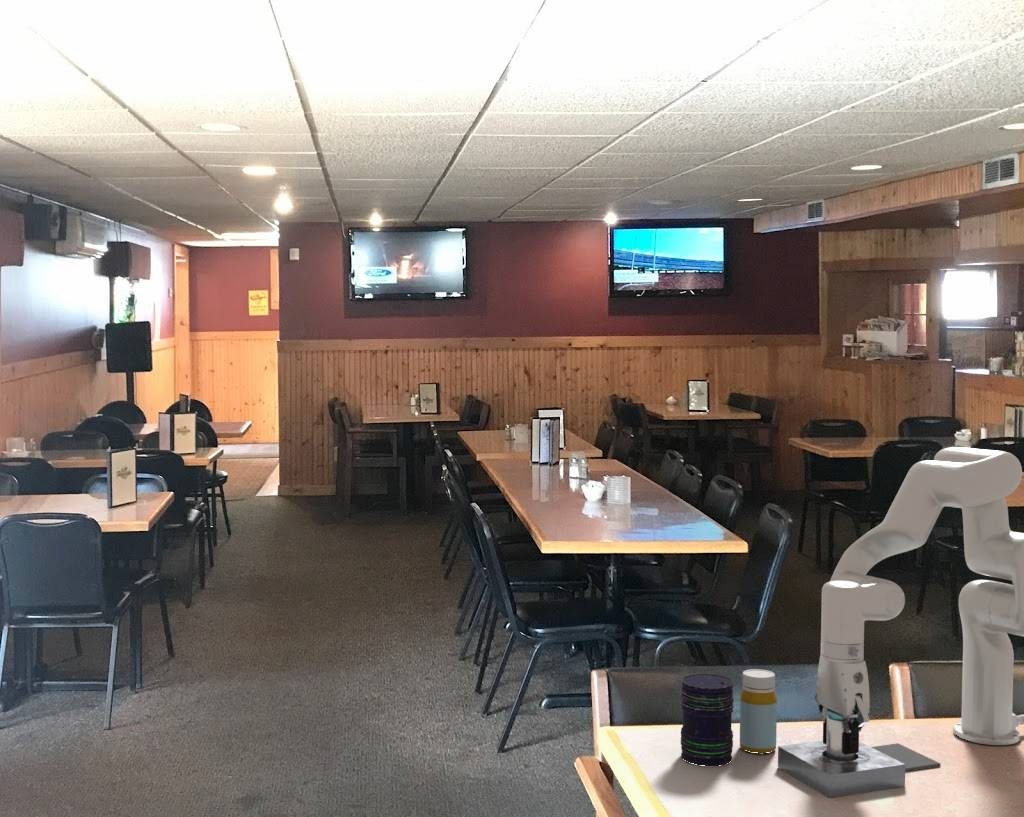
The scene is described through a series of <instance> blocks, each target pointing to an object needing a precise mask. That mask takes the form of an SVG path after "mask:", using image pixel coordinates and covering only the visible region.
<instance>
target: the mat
mask: <svg viewBox="0 0 1024 817" xmlns="http://www.w3.org/2000/svg"><path fill="white" fill-rule="evenodd" d="M870 747H871V748H873V749H875V750H877V751H880V752H882V753H884V754H886V755H888V756H890V757H892V758H894V759H896V760H898V761H900V762H902V763H904V764H905V771H907V772H911V771H910V770H913V771H916V770H915V769H920V770H926V769H925V768H927V769H930V768H929V767H934V768H939V766H940V767H941V763H940V762H938V761H936V760H934V759H932V758H930V757H928V756H926V755H924V754H921V753H920V752H917V751H915V750H914V749H911V748H909V747H907V746H904V745H902V744H900V743H899V742H898V743H891V744H890V743H889V744H884V745H883V744H882V745H877V746H870ZM937 766H938V767H937ZM922 768H923V769H922Z"/></svg>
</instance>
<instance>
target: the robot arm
mask: <svg viewBox="0 0 1024 817" xmlns="http://www.w3.org/2000/svg"><path fill="white" fill-rule="evenodd" d="M1022 478H1023V468H1022V465H1021V462H1020V460H1019V458H1017V457H1016V456H1015V455H1014V454H1013V453H1011V452H1007V451H1004V450H998V449H997V450H994V449H984V448H982V449H981V448H975V447H974V448H973V447H960V446H959V447H958V446H957V447H956V446H955V447H951V446H950V447H946V448H945V447H944V448H942V449H940V450H939V451H938V452H937V453H935V455H934V457H933V460H932V459H931V460H930V459H928V460H921V461H918V462H916V463H914V464H913V465H912V466H911V467H910V469H909V470H908V472H907V474H906V476H905V478H904V480H903V482H902V483H901V486H900V487H899V489H898V492H897V493H896V495H895V497H894V499H893V501H892V502H891V505H890V507H889V509H888V511H887V513H886V515H885V517H884V519H883V520H882V522H880V524H878V525H877V526H875V527H873V528H872V529H870V530H869V531H867V532H866V533H864V534H863V535H862V536H861V537H859V538H858V539H857V540H856V541H854V542H853V543H851V545H850V546H849V547H848V548H847V549H846V550H845V551H844V552H843V554H842V555H841V557H840V559H839V561H838V562H837V565H836V567H835V569H834V571H833V574H832V575H831V578H830V580H829V581H827V582H825V583H824V584H823V586H822V587H821V612H820V614H821V618H820V623H821V624H820V625H821V626H820V656H819V662H818V666H817V668H818V669H817V679H816V694H815V695H814V700H815V702H816V704H817V706H818V709H819V711H820V712H819V713H820V714H821V716H820V718H821V719H820V720H821V722H822V740H823V743H824V744H826V740H827V710H828V709H830V710H832V711H834V712H836V713H838V714H841V715H843V722H844V728H845V732H843V733H842V753H843V754H845V755H847V754H854V753H858V752H859V742H860V733H861V732H862V729H863V727H865V725H866V724H867V723H869V722H870V717H869V712H870V685H869V684H870V682H869V675H868V674H869V673H868V666H867V663H866V660H864V658H865V657H864V651H865V650H864V647H865V644H864V643H865V642H864V641H865V621H883V622H885V621H889V620H890V621H891V620H892V619H894V618H896V617H897V616H899V615H900V613H901V612H902V611H903V610H904V607H905V604H906V597H905V593H904V591H903V589H902V588H901V587H900V586H899V585H898V583H895V582H894V581H891V580H889V579H885V578H880V577H875V576H871V575H867V574H868V572H869V571H870V570H871V569H872V568H873V567H874V566H875V565H876V564H878V563H880V562H881V561H883V560H885V559H886V558H890V557H892V556H895V555H898V554H902V553H907V552H909V551H913V550H914V549H915V550H916V549H918V548H920V547H922V546H923V545H925V544H926V542H927V540H928V538H929V536H930V535H931V532H932V530H933V528H934V526H935V524H936V522H937V520H938V517H939V516H940V514H941V512H942V510H943V509H944V507H949V508H950V507H951V508H957V509H958V508H959V509H961V513H962V525H963V530H962V531H963V544H964V545H963V546H964V547H963V550H964V558H965V563H966V566H967V568H968V569H969V570H970V571H972V572H974V573H976V574H979V575H983V576H986V577H987V576H988V577H992V578H998V579H1003V580H1008V581H1012V584H1010V583H1005V582H1000V581H995V580H989V579H975V580H972V581H969V582H967V583H966V584H965V585H964V586H963V587H962V588H961V591H960V593H959V596H958V611H959V612H958V613H959V615H960V621H961V628H962V680H961V681H962V682H961V719H960V720H961V721H960V722H957V723H955V724H954V725H953V726H952V732H953V734H954V735H955V736H956V735H957V736H956V737H958V736H959V737H958V738H960V739H963V740H964V739H965V740H964V741H967V740H968V742H970V743H975V744H981V745H988V746H1011V745H1014V744H1017V743H1018V742H1020V741H1021V733H1020V732H1019V730H1017V728H1018V727H1019V725H1024V714H1018V715H1017V714H1015V713H1014V712H1013V700H1014V699H1013V697H1014V696H1013V694H1014V693H1013V692H1014V662H1015V657H1014V656H1015V654H1014V653H1015V652H1014V649H1013V648H1014V647H1013V644H1012V642H1011V641H1012V640H1011V639H1010V637H1009V635H1008V634H1010V635H1014V636H1019V637H1024V532H1019V531H1013V530H1011V527H1010V524H1009V523H1010V522H1009V510H1008V509H1009V508H1008V504H1007V503H1008V502H1007V501H1006V497H1007V496H1009V495H1011V494H1012V493H1013V492H1015V490H1016V489H1017V488H1018V486H1019V485H1020V483H1021V482H1022ZM852 711H853V714H852ZM849 718H853V719H854V721H853V722H852V723H851V724H850V719H849Z"/></svg>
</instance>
